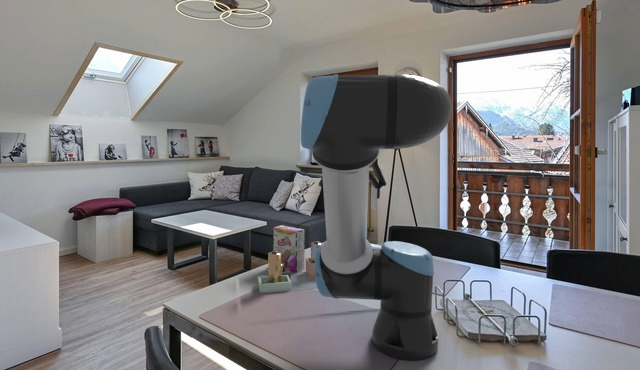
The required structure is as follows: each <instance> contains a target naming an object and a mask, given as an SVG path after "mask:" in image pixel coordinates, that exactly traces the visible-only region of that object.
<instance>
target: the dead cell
mask: <svg viewBox="0 0 640 370" xmlns="http://www.w3.org/2000/svg"><path fill="white" fill-rule="evenodd" d="M322 245H323V242H321V241H318V240H315V241H313V242H310V258H311V263H315V255H316V251H317V249H318V248H319V247H322Z"/></svg>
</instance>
